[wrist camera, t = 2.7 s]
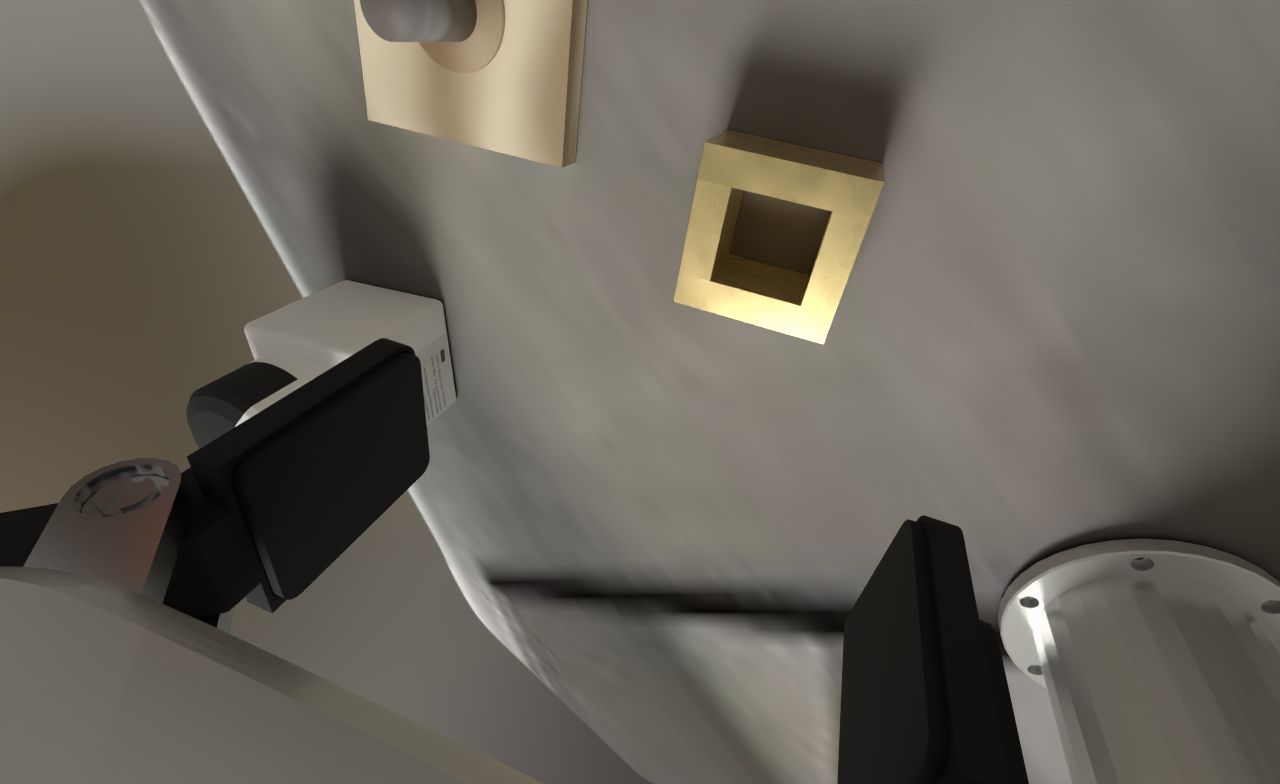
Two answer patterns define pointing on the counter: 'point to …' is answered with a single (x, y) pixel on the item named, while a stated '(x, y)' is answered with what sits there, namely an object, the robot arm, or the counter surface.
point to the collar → (760, 286)
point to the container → (325, 352)
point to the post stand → (477, 71)
